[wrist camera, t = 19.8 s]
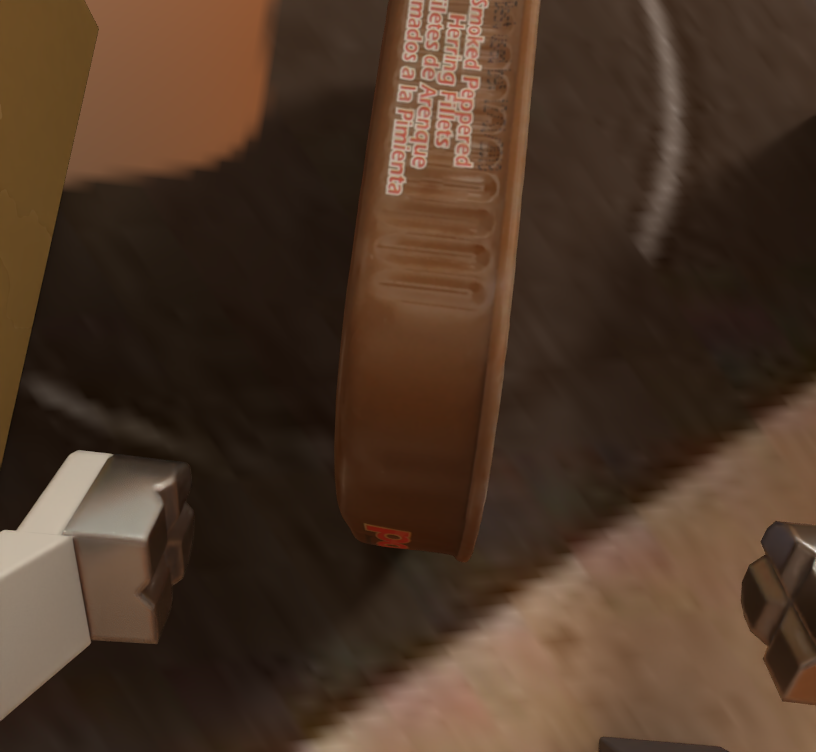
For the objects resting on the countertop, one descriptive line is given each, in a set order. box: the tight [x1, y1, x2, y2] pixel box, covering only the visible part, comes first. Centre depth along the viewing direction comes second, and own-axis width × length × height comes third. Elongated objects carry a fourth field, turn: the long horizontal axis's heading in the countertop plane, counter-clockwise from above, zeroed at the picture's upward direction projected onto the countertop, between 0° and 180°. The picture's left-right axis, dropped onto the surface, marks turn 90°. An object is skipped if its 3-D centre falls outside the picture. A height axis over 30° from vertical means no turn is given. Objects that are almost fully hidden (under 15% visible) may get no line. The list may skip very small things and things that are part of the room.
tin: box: [334, 0, 541, 562], centre depth 16 cm, size 15×3×8 cm, turn 173°
